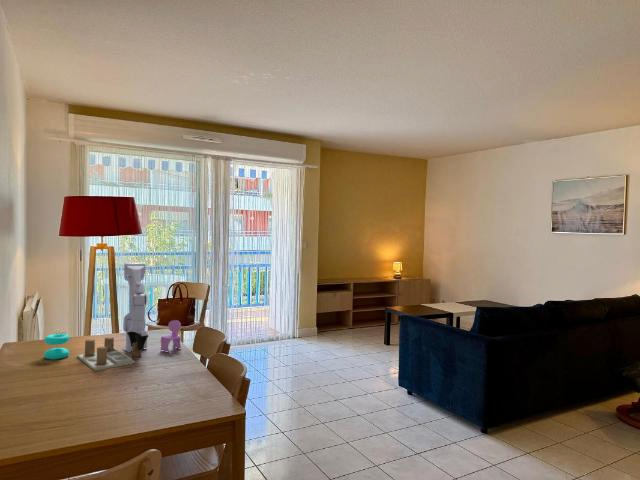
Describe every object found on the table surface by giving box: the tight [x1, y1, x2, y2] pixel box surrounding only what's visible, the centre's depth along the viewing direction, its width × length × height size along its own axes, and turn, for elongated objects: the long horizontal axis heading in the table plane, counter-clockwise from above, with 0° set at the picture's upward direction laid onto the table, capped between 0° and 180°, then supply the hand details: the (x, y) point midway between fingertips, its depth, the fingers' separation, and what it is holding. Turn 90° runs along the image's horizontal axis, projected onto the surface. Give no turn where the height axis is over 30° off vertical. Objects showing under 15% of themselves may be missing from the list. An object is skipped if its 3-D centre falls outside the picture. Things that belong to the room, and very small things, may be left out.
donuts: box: [43, 333, 70, 360], centre depth 201 cm, size 10×10×10 cm
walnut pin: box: [131, 342, 143, 359], centre depth 205 cm, size 4×4×7 cm
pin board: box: [76, 336, 136, 371], centre depth 199 cm, size 17×24×8 cm
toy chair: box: [160, 319, 182, 352], centre depth 219 cm, size 8×9×15 cm
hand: (137, 348), depth 205 cm, fingers open, 7 cm apart
